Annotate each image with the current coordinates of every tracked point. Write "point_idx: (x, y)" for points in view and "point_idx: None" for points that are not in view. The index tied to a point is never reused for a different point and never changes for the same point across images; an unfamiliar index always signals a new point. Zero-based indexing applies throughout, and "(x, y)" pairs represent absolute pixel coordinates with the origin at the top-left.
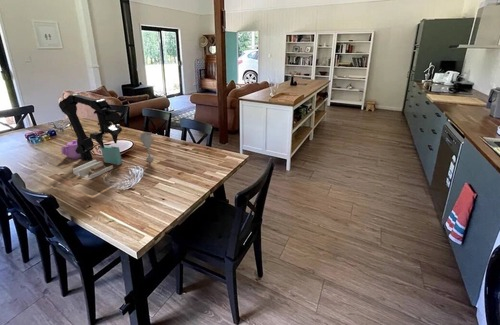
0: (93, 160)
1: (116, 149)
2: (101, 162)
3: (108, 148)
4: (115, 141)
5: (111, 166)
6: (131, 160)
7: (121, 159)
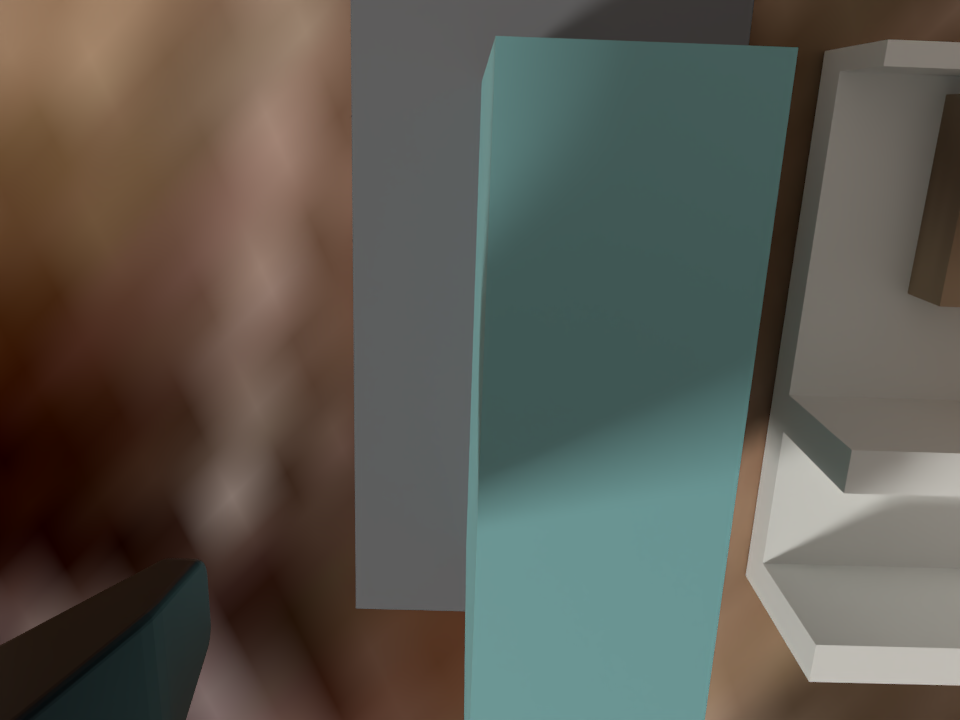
0: (869, 675)
1: (684, 51)
2: (861, 437)
3: (720, 523)
4: (158, 637)
5: (914, 44)
6: (169, 64)
7: (483, 76)
